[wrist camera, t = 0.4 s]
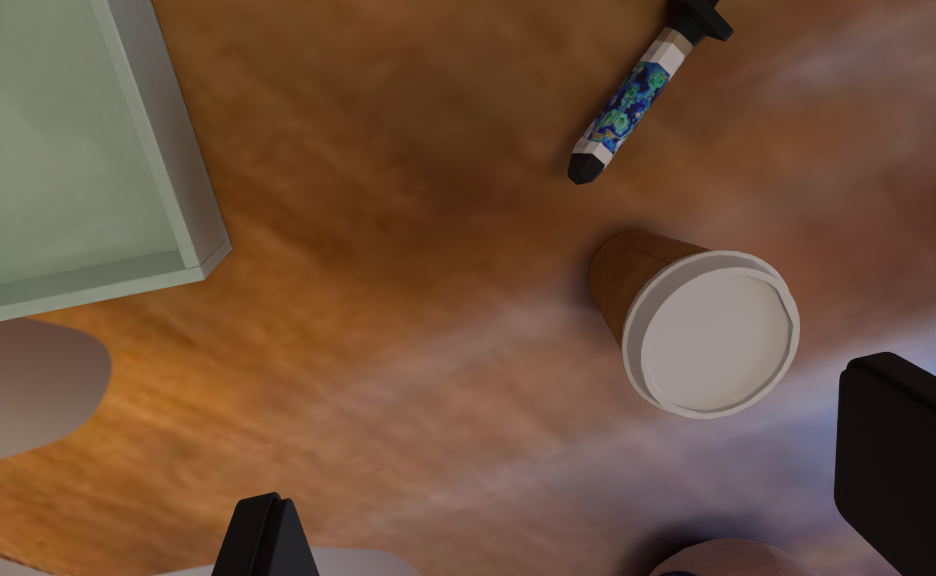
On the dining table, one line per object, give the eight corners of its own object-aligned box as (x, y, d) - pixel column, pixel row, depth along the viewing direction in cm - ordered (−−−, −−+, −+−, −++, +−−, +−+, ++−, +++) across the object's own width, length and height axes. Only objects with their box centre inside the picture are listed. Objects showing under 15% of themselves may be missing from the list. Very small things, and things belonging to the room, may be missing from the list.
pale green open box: (-219, -55, 30) (-364, -85, 24) (115, -109, 31) (53, -151, 25) (-36, 302, 37) (-115, 344, 31) (233, 249, 38) (205, 280, 32)
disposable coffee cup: (690, 329, 44) (794, 417, 32) (564, 341, 43) (626, 436, 31) (702, 201, 40) (822, 250, 29) (566, 211, 39) (636, 265, 28)
